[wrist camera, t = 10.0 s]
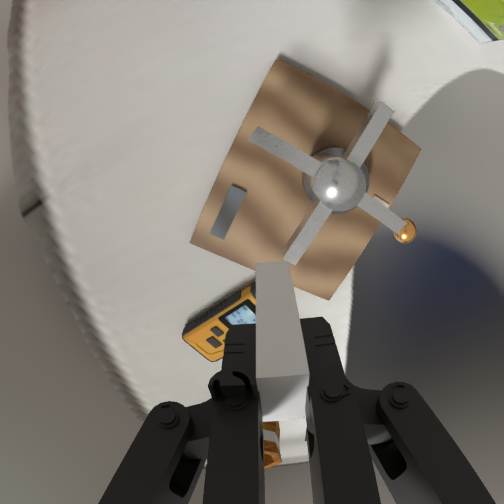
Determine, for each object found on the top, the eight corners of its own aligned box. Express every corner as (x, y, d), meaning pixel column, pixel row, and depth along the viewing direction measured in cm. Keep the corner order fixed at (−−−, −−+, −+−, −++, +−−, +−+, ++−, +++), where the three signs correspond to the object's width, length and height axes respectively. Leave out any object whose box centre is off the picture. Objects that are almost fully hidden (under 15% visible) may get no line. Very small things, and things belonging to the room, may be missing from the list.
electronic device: (181, 324, 46) (176, 337, 43) (254, 276, 41) (253, 289, 38) (214, 353, 49) (212, 366, 46) (287, 312, 44) (288, 326, 41)
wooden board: (275, 60, 28) (276, 58, 27) (417, 147, 32) (422, 149, 31) (191, 239, 38) (188, 243, 37) (327, 296, 42) (329, 301, 41)
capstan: (215, 199, 34) (204, 222, 27) (292, 65, 27) (305, 48, 19) (349, 270, 39) (368, 305, 31) (423, 160, 31) (460, 173, 24)
